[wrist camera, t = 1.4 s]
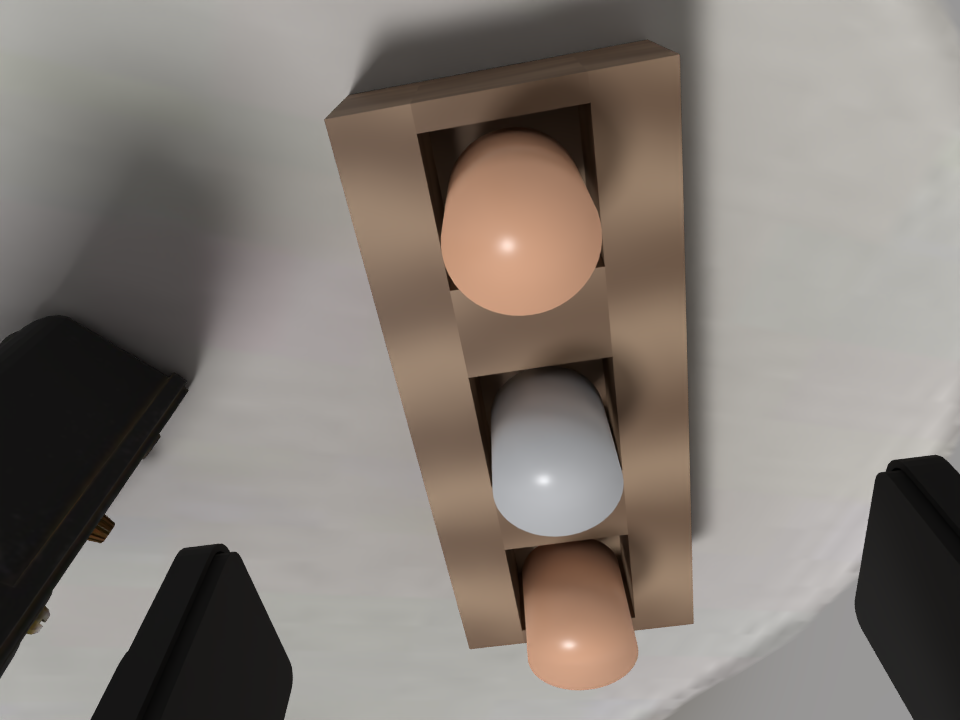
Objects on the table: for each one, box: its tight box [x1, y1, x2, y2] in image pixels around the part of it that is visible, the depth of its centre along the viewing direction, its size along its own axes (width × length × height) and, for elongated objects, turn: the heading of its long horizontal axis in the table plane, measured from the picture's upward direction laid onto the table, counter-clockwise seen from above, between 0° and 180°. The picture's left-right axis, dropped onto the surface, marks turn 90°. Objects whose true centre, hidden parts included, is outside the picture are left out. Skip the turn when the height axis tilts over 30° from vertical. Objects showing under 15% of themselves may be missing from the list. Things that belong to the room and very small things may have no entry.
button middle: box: [491, 366, 623, 537], centre depth 28 cm, size 5×5×5 cm
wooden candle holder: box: [324, 40, 694, 649], centre depth 32 cm, size 28×12×5 cm, turn 10°
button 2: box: [441, 127, 602, 316], centre depth 23 cm, size 5×5×5 cm
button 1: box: [522, 539, 638, 690], centre depth 33 cm, size 5×5×5 cm
